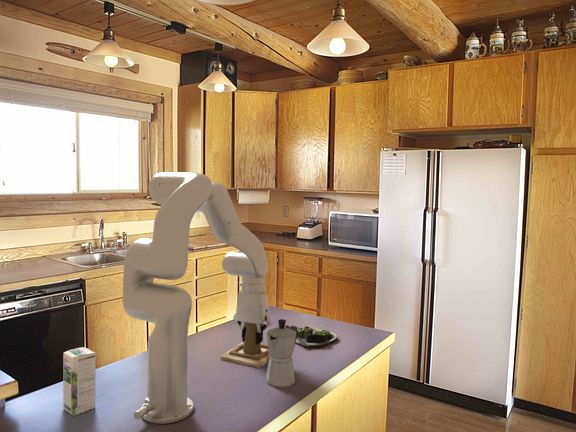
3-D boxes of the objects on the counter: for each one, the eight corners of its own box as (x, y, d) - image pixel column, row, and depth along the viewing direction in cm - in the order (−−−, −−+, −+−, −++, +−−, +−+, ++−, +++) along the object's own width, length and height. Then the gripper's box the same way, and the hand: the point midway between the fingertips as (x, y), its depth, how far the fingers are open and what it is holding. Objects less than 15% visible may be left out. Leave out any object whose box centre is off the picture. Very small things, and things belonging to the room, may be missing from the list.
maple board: (259, 368, 139) (259, 361, 139) (220, 359, 145) (220, 353, 144) (281, 350, 153) (281, 345, 153) (246, 343, 159) (246, 338, 159)
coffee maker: (281, 393, 123) (283, 329, 121) (255, 385, 127) (256, 322, 126) (308, 373, 136) (309, 315, 134) (283, 366, 140) (284, 310, 139)
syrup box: (62, 408, 112) (61, 352, 111) (85, 400, 116) (85, 345, 115) (73, 417, 108) (72, 358, 107) (96, 407, 113) (96, 351, 112)
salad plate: (271, 338, 166) (271, 326, 166) (303, 327, 179) (303, 316, 179) (312, 353, 153) (312, 339, 152) (343, 340, 166) (343, 328, 165)
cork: (258, 354, 145) (259, 321, 144) (240, 352, 146) (241, 319, 145) (263, 348, 151) (263, 315, 150) (245, 346, 152) (246, 314, 151)
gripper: (225, 286, 147) (224, 341, 148) (271, 293, 140) (269, 350, 141) (237, 282, 154) (236, 334, 155) (281, 288, 147) (280, 342, 148)
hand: (252, 341), depth 148 cm, fingers open, 4 cm apart
